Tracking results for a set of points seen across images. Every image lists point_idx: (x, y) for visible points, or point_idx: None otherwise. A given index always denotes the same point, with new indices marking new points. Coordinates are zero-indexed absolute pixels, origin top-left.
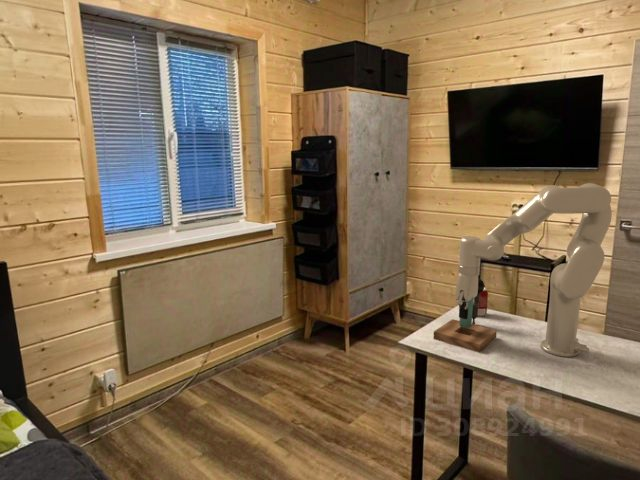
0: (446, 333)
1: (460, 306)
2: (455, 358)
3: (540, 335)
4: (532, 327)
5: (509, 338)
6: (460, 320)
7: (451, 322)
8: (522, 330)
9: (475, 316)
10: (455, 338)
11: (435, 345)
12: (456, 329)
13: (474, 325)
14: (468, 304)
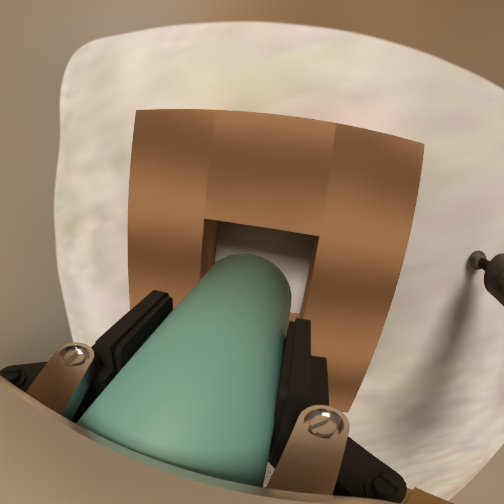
0: (148, 188)
1: (36, 374)
2: (62, 276)
3: (418, 463)
4: (477, 434)
5: (362, 419)
6: (196, 284)
7: (359, 151)
8: (450, 426)
9: (489, 290)
10: (130, 253)
11: (100, 162)
12: (246, 222)
13: (380, 309)
14: None
